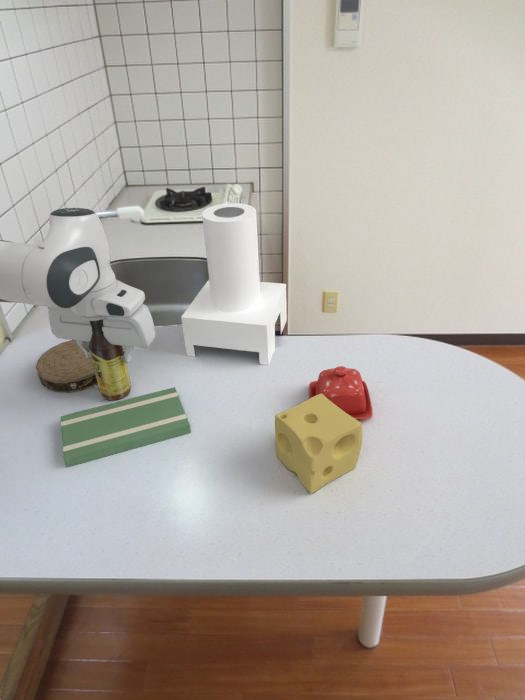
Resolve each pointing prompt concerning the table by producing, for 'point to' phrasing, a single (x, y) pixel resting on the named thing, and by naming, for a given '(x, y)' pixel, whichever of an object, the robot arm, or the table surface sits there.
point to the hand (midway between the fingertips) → (109, 358)
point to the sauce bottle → (108, 365)
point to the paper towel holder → (234, 288)
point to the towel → (122, 426)
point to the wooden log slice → (66, 368)
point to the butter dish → (344, 391)
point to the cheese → (317, 441)
